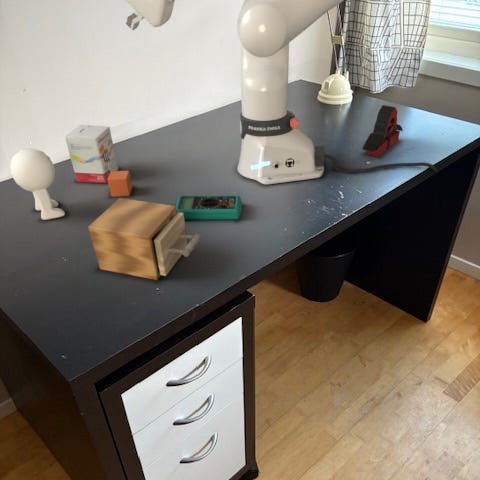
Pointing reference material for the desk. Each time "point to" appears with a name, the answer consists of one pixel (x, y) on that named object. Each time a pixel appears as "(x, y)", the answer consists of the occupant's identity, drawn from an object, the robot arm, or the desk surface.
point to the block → (119, 183)
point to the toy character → (36, 179)
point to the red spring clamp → (383, 132)
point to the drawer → (172, 243)
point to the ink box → (91, 153)
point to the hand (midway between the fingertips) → (110, 6)
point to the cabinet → (129, 236)
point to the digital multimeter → (209, 207)
